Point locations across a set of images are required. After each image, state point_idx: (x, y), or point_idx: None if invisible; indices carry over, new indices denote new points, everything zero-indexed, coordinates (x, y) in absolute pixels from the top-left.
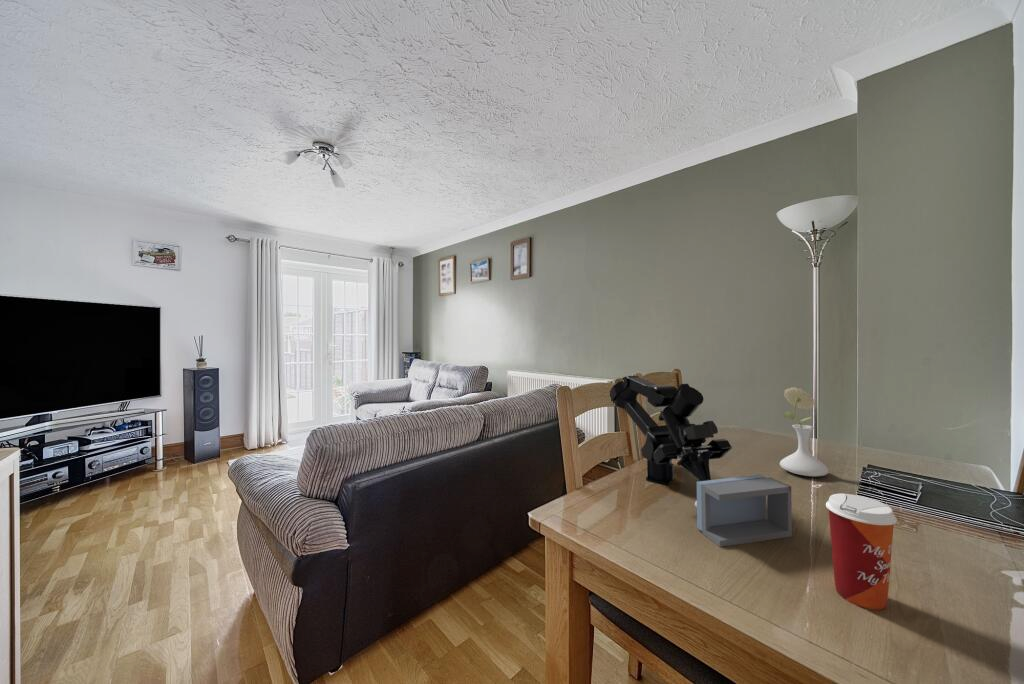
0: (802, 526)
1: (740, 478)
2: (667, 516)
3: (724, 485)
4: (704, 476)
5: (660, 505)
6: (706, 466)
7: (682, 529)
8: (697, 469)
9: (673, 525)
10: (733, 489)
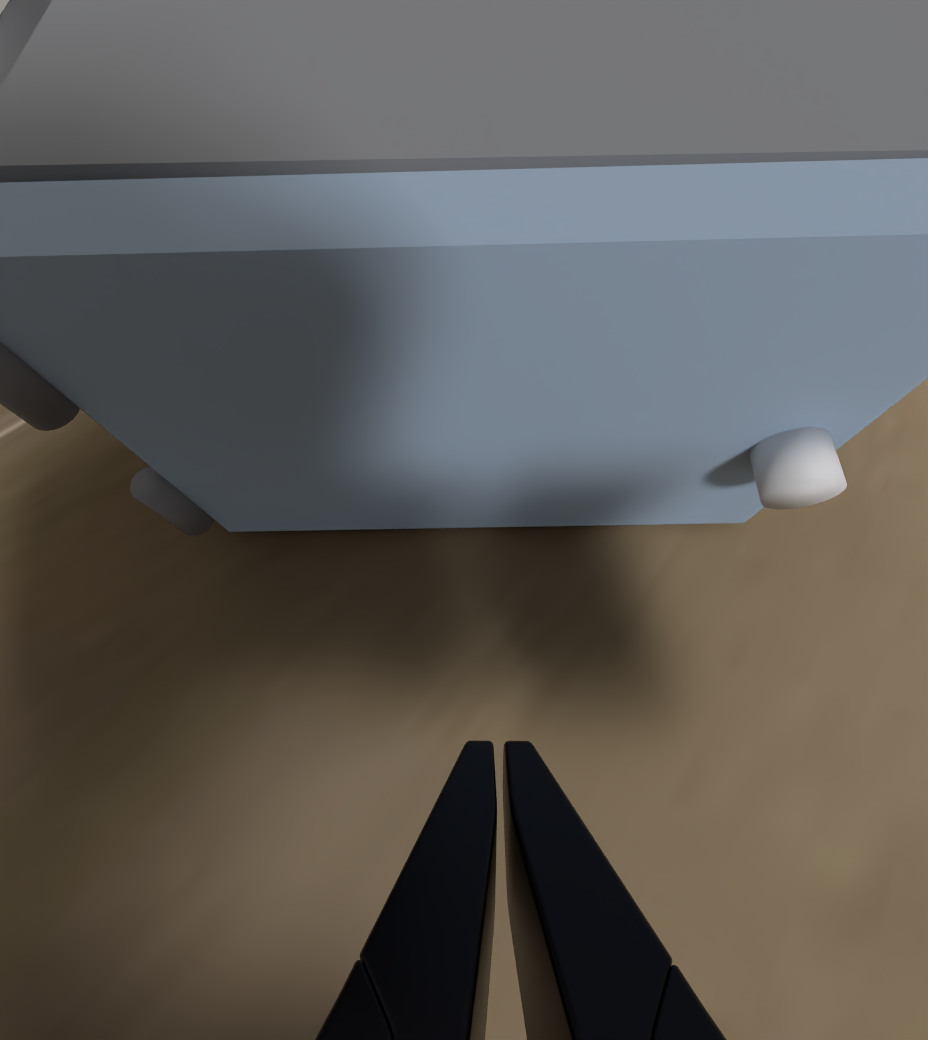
0: (69, 430)
1: (336, 206)
2: (890, 762)
3: (736, 96)
4: (558, 822)
5: (893, 1021)
6: (411, 1035)
7: (838, 553)
8: (692, 1021)
9: (886, 615)
10: (697, 17)
